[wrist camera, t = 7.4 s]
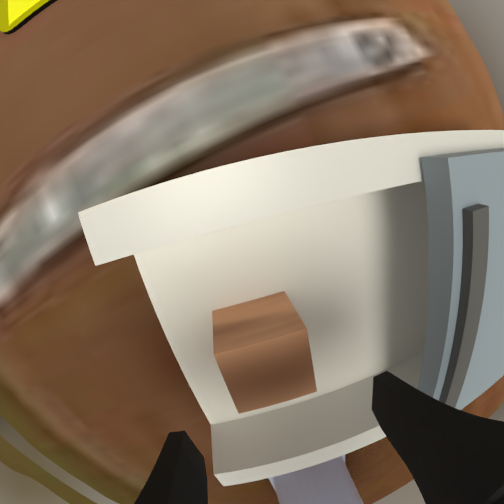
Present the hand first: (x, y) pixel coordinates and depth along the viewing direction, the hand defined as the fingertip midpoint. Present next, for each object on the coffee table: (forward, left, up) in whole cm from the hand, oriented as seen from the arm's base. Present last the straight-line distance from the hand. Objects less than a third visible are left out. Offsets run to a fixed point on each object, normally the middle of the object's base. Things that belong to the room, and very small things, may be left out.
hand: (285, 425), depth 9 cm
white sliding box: (0, -7, -8) cm, 11 cm away
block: (0, 0, -7) cm, 7 cm away
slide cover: (0, -13, -2) cm, 13 cm away
